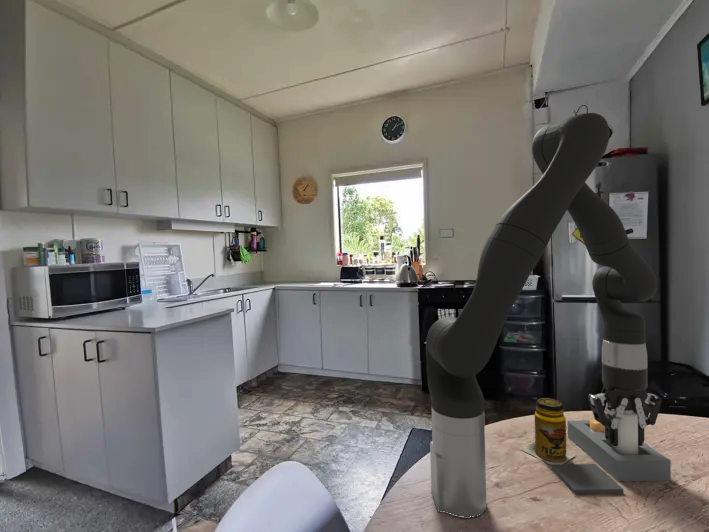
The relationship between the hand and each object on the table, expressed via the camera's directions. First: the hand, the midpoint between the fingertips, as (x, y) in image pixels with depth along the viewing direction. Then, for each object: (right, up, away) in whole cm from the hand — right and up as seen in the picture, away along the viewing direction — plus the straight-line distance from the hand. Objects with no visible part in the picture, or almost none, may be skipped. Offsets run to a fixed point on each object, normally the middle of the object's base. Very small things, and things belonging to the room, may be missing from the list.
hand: (624, 443), depth 74 cm
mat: (-11, -5, -4) cm, 13 cm away
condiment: (-13, -5, +6) cm, 15 cm away
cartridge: (0, -4, 0) cm, 4 cm away
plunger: (0, -4, +9) cm, 10 cm away
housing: (0, -5, +4) cm, 6 cm away
